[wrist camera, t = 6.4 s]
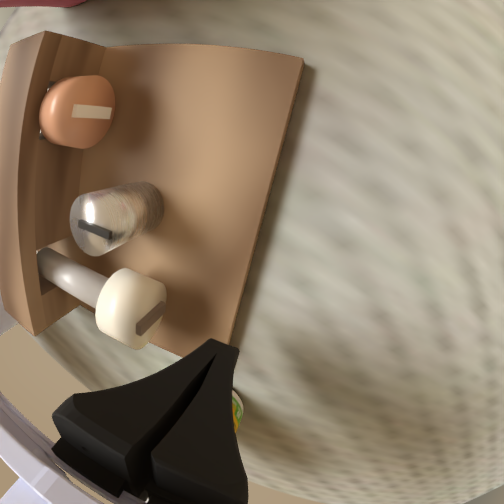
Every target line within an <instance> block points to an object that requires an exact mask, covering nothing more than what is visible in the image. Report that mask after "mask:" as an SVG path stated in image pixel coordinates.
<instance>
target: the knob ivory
mask: <svg viewBox="0 0 504 504" xmlns="http://www.w3.org/2000/svg"><path fill="white" fill-rule="evenodd" d="M37 265H38V274H40V275H41V276H43V277H44V278H46V279H47V280H49V281H50V282H52V283H53V284H55V285H56V286H58V287H60V288H61V289H63V290H64V291H66V292H68V293H69V294H71V295H73V296H74V297H76V298H78V299H79V300H81V301H83V302H85V303H86V304H88V305H90V306H92V307H93V308H95V309H96V313H95V317H96V323H97V326H98V328H99V329H100V330H101V331H102V332H104V333H105V334H107V335H109V336H111V337H112V338H114V339H116V340H118V341H120V342H121V343H123V344H125V345H127V346H129V347H131V348H133V349H135V350H138V349H141V348H143V347H144V346H145V345H146V344H147V343H148V342H149V341H150V340H151V339H152V337H153V336H154V334H155V332H156V330H157V329H158V327H159V324H160V322H161V320H162V317H163V314H164V313H165V310H166V298H167V292H166V287H165V285H164V284H163V283H161V282H159V281H157V280H154V279H152V278H149V277H147V276H145V275H142V274H140V273H138V272H135V271H133V270H131V269H128V268H123V269H120V270H118V271H117V272H115V273H114V274H113V275H112V276H111V277H110V278H107V277H105V276H103V275H101V274H99V273H97V272H95V271H93V270H91V269H89V268H87V267H85V266H83V265H81V264H79V263H77V262H75V261H73V260H72V259H70V258H68V257H66V256H64V255H62V254H60V253H58V252H57V251H55V250H53V249H51V248H49V247H45V248H42V249H41V250H40V251H39V252H38V253H37Z"/></svg>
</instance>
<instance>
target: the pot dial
mask: <svg viewBox="0 0 504 504" xmlns="http://www.w3.org/2000/svg"><path fill="white" fill-rule="evenodd" d="M163 215H164V202H163V199H162V196H161V194H160V192H159V191H158V189H157V188H156V187H155V186H154V185H152V184H150V183H148V182H144V181H140V182H135V183H130V184H125V185H121V186H116V187H111V188H107V189H103V190H99V191H94V192H90V193H86V194H82V195H80V196H79V197H77V198H76V200H75V201H74V203H73V204H72V207H71V211H70V227H71V231H72V235H73V237H74V239H75V241H76V243H77V244H78V246H79V247H80V248H81V249H82V250H83V251H84V252H85V253H87V254H88V255H91V256H100V255H103V254H105V253H107V252H109V251H111V250H112V249H114V248H116V247H118V246H120V245H122V244H124V243H126V242H128V241H130V240H133V239H135V238H137V237H139V236H141V235H143V234H145V233H147V232H149V231H151V230H153V229H155V228H156V227H157V226H158V225H159V224H160V223H161V221H162V218H163Z"/></svg>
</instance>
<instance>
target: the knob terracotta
mask: <svg viewBox="0 0 504 504" xmlns="http://www.w3.org/2000/svg"><path fill="white" fill-rule="evenodd" d="M114 112H115V94H114V91H113V88H112V86H111V84H110V83H109V81H108V80H106V79H105V78H104V77H102V76H98V75H90V76H77V77H67V78H63V79H61V80H59V81H57V82H56V83H55V84H53V85H52V86H51V88H50V89H49V90H48V91H47V93H46V94H45V96H44V98H43V100H42V103H41V106H40V111H39V125H40V129H41V131H42V134H43V135H44V137H45V138H46V139H47V140H48V141H49V142H51V143H53V144H56V145H62V146H68V147H74V148H80V149H86V148H90V147H92V146H94V145H96V144H97V143H98V142H99V141H100V140H101V139H102V138H103V137H104V136H105V134H106V133H107V131H108V130H109V128H110V125H111V123H112V120H113V117H114Z"/></svg>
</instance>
